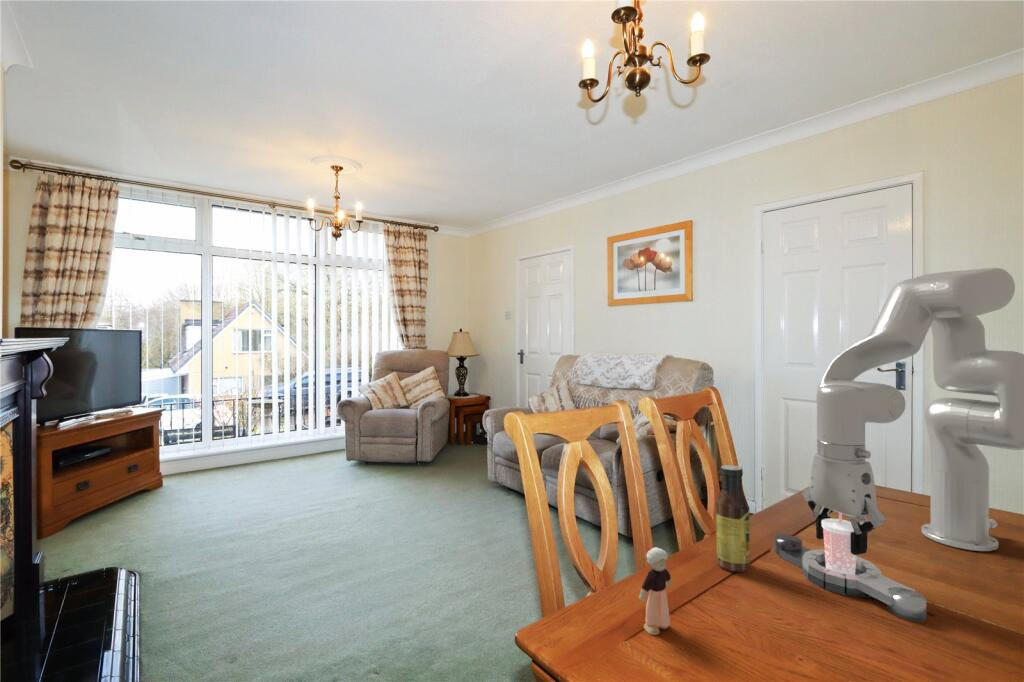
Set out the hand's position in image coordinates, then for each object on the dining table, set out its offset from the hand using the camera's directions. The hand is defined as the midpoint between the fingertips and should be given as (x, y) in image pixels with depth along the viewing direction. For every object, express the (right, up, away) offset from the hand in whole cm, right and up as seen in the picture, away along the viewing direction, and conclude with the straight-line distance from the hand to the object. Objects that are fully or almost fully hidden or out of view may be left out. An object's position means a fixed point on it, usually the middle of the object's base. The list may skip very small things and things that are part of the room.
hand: (840, 544), depth 91 cm
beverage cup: (0, -5, 0) cm, 5 cm away
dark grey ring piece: (-1, -7, +4) cm, 8 cm away
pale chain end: (+1, -7, -4) cm, 8 cm away
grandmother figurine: (-39, -8, -14) cm, 42 cm away
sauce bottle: (-18, -7, +6) cm, 20 cm away
